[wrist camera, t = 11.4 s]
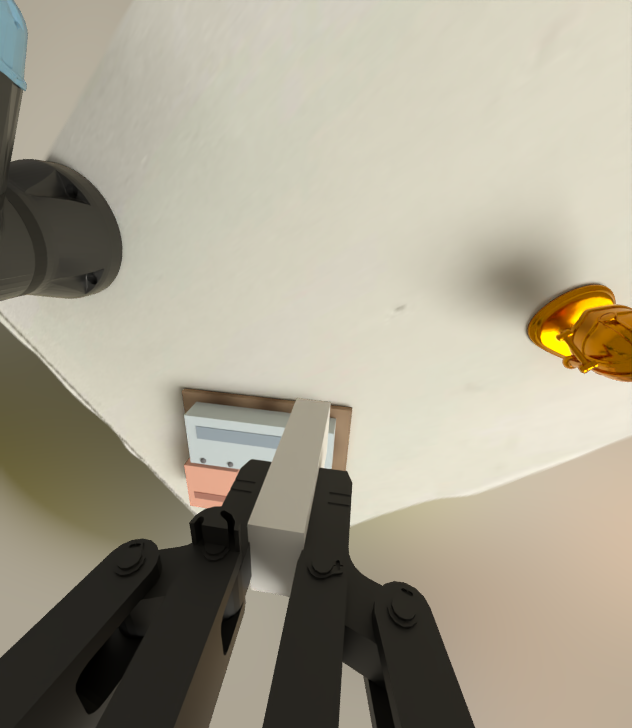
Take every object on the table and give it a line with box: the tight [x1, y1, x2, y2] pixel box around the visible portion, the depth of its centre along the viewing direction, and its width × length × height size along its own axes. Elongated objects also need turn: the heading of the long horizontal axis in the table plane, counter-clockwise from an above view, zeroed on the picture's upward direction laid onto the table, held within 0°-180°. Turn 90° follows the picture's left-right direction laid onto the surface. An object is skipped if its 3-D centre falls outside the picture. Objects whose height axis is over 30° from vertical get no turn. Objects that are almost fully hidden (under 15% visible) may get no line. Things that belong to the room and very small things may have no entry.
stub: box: [184, 458, 240, 508], centre depth 50 cm, size 8×8×4 cm
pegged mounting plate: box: [184, 402, 336, 469], centre depth 46 cm, size 20×8×4 cm, turn 87°
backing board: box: [182, 388, 352, 471], centre depth 50 cm, size 24×20×1 cm
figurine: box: [527, 284, 632, 382], centre depth 31 cm, size 8×11×12 cm
